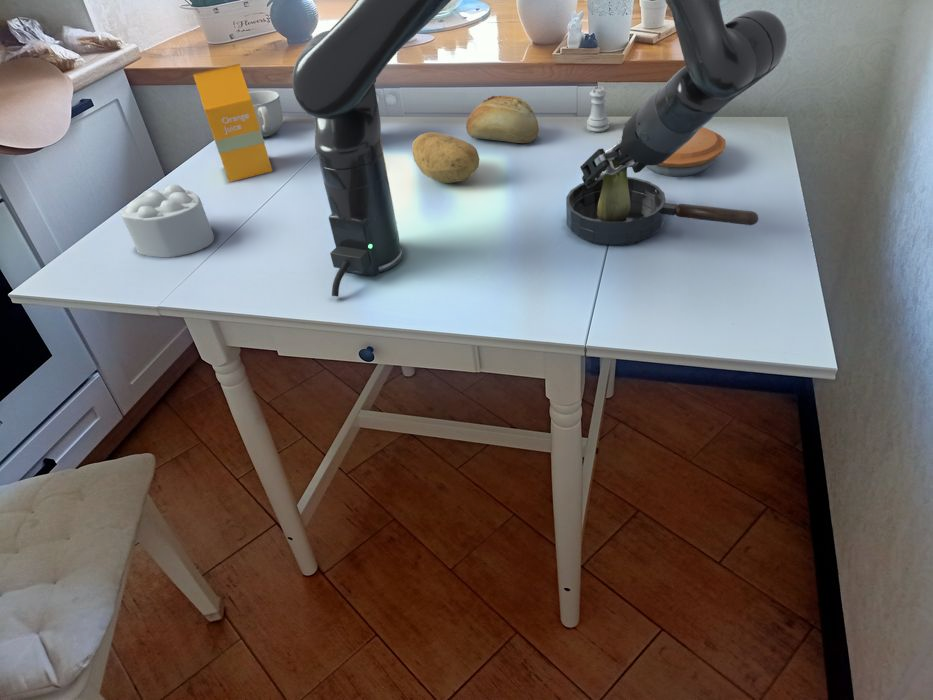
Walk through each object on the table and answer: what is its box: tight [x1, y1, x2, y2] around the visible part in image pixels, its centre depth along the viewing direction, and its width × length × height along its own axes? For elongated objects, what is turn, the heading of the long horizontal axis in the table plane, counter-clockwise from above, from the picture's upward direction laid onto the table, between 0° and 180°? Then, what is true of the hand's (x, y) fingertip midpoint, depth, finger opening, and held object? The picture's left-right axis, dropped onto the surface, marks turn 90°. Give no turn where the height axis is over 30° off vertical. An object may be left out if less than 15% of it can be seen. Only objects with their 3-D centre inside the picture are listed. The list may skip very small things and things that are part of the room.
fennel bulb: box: [597, 159, 630, 221], centre depth 109 cm, size 6×5×12 cm
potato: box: [411, 131, 481, 184], centre depth 128 cm, size 10×14×8 cm
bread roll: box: [465, 95, 540, 144], centre depth 140 cm, size 10×15×8 cm, turn 69°
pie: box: [646, 126, 727, 177], centre depth 125 cm, size 16×16×5 cm
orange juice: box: [192, 63, 273, 183], centre depth 138 cm, size 8×9×20 cm
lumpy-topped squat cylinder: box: [120, 184, 215, 258], centre depth 121 cm, size 10×13×9 cm
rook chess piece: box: [586, 85, 610, 134], centre depth 139 cm, size 4×4×8 cm
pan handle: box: [662, 202, 759, 226], centre depth 105 cm, size 2×14×2 cm, turn 65°
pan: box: [565, 176, 667, 246], centre depth 112 cm, size 15×15×4 cm
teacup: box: [248, 89, 284, 138], centre depth 155 cm, size 14×11×8 cm
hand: (610, 174), depth 109 cm, fingers open, 8 cm apart
